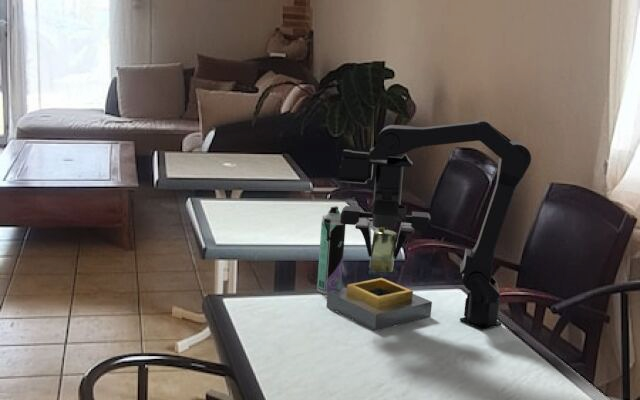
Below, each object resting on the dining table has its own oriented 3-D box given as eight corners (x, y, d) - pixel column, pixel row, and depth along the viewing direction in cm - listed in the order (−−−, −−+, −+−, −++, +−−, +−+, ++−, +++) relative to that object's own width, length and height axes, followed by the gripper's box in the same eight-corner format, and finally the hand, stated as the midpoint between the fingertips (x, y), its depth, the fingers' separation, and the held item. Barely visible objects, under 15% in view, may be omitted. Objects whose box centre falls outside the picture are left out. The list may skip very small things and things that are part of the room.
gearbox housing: (430, 317, 175) (432, 292, 173) (375, 330, 165) (377, 305, 164) (375, 292, 188) (376, 269, 187) (320, 303, 179) (322, 279, 177)
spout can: (397, 270, 173) (403, 225, 171) (380, 273, 170) (386, 227, 168) (381, 263, 177) (387, 219, 175) (364, 266, 174) (370, 221, 172)
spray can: (338, 295, 184) (344, 210, 180) (314, 292, 185) (320, 208, 181) (342, 288, 190) (348, 205, 185) (319, 285, 191) (325, 203, 186)
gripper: (340, 189, 163) (335, 264, 166) (433, 197, 161) (426, 272, 164) (345, 179, 174) (340, 249, 177) (432, 186, 172) (426, 257, 175)
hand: (382, 257), depth 173 cm, fingers closed on spout can, 5 cm apart
